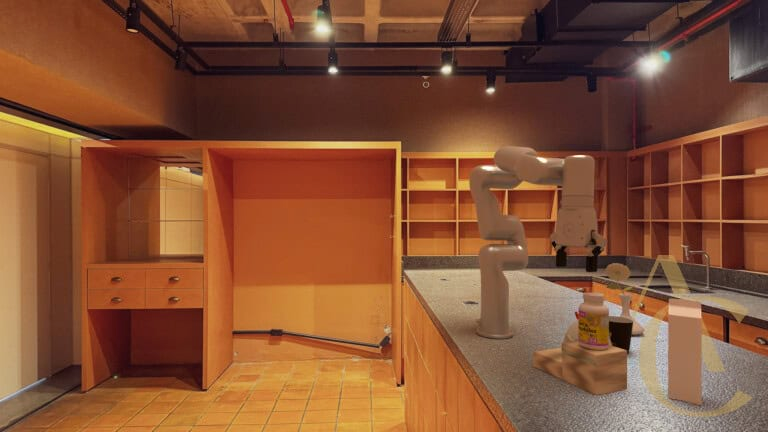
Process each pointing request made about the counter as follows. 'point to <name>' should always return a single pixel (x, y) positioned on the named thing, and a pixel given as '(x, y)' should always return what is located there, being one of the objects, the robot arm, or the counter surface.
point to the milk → (685, 350)
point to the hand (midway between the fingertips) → (575, 269)
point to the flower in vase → (619, 274)
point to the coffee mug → (620, 332)
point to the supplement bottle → (593, 322)
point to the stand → (586, 366)
